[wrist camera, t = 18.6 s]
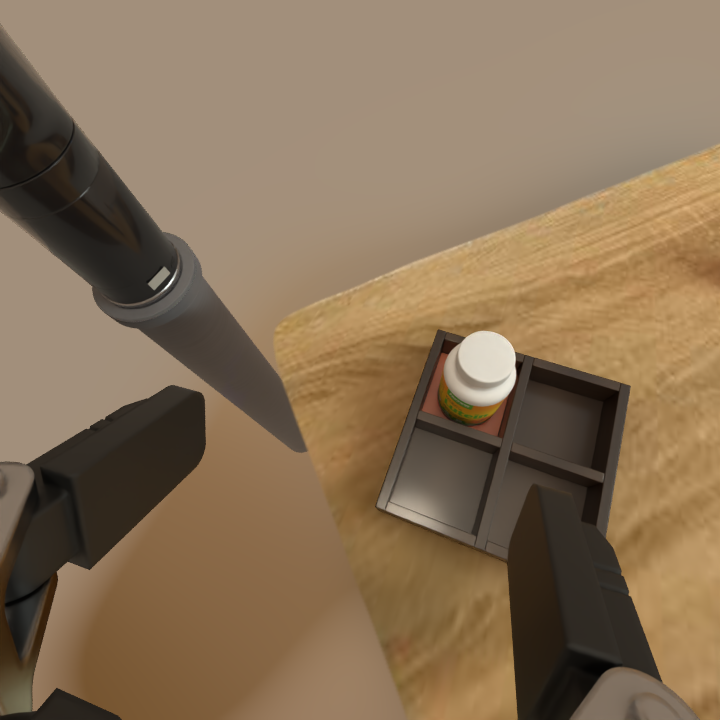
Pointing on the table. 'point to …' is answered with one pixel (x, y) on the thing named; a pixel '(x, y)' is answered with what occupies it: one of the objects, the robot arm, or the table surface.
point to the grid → (506, 452)
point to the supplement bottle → (477, 378)
